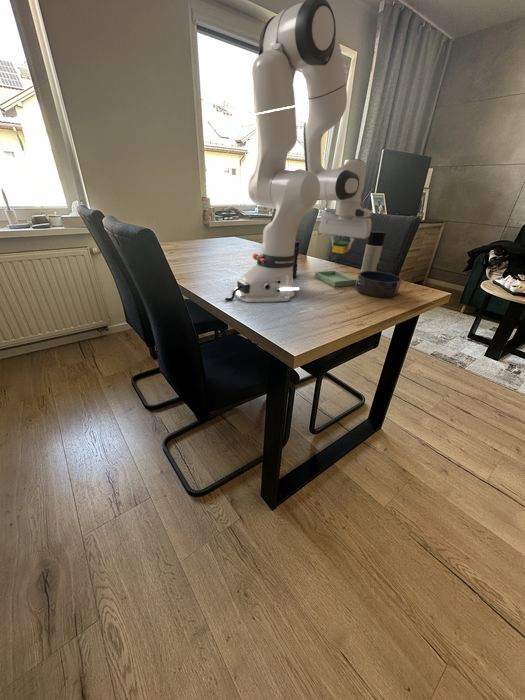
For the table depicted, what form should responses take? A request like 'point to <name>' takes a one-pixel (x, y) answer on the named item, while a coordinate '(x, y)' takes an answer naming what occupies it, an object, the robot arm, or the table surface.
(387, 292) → the bowl
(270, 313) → the table surface
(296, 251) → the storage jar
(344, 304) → the table surface
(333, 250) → the sponge
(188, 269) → the table surface
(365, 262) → the spray can
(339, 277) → the dish
